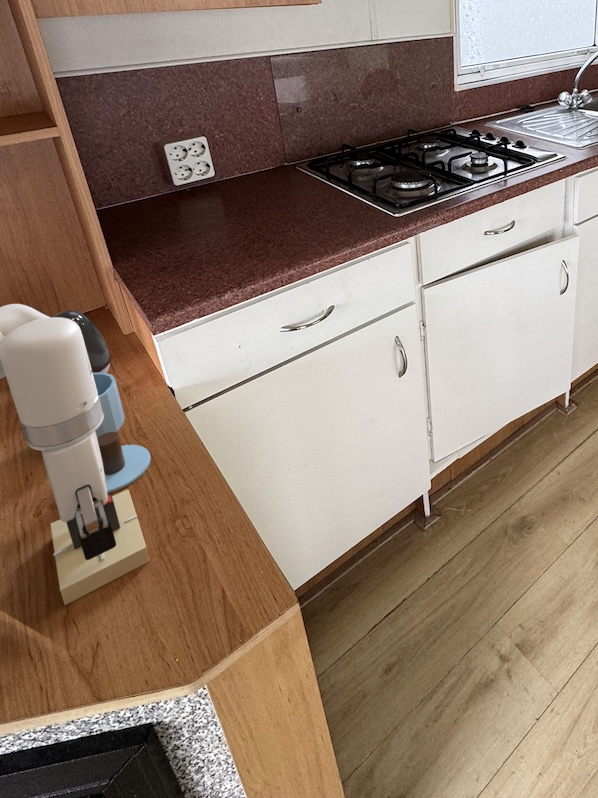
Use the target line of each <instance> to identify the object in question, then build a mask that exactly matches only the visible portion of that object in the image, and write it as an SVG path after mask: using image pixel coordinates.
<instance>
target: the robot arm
mask: <svg viewBox="0 0 598 798" xmlns="http://www.w3.org/2000/svg"><path fill="white" fill-rule="evenodd" d="M4 378H5V379H6V381H7V384H8V388H9V391H10V393H11V396H12V400H13V403H14V406H15V409H16V412H17V415H18V418H19V421H20V425H21V427H22V430H23V433H24V437H25V439H26V443H27V445H28V447H29V448H30V449H32V450H34V451H35V450H36V451H40V452H41V454H42V459H43V463H44V464H43V465H44V467H45V471H46V475H47V478H48V481H49V485H50V487H51V490H52V495H53V499H54V501H55V504H56V508H57V512H58V516H59V520H60V519H61V521H63V522H68V521H69V520H71V519H73V518H74V516H76V520H77V524H78V528H79V532H80V533H79V534H78V536H79V540H80V543H81V546H82V550H83V553H84V556H85V559H86V560H90V559H92V558H94V557H96V556H98V555H100V554H102V553H104V552H106V551H108V550H110V549H112V548H114V547H115V546H116V541H115V537H114V534H113V530H112V527H111V523H110V520H107V519H106V515H105V511H104V508H103V505H105V503H106V502H107V500H108V494H107V488H106V481H105V474H104V468H103V462H102V458H101V453H100V448H99V444H98V440H97V436H96V432H95V430H96V429H97V428H98V427H99V426H100V425H101V423H102V421H103V418H104V415H103V411H102V407H101V404H100V400H99V396H98V392H97V388H96V384H95V381H94V377H93V373H92V369H91V365H90V362H89V358H88V354H87V350H86V347H85V343H84V339H83V336H82V332H81V329H80V327H79V326H78V325H77V324H76V323H75V322H74V321H72V320H70V319H67V318H61V317H54V316H52V317H51V316H48V315H46V314H44V313H43V312H40V311H39V310H36V309H35V308H33V307H31V306H28V305H27V304H22V303H10V304H5V305H2V306H0V380H1V379H4ZM97 501H98V502H97ZM94 502H96V503H94ZM93 503H94V504H93ZM96 508H98V510H99V514H100V517H101V519H100V518H98V519H97V515H96V512H95V509H96ZM79 509H81V510H79ZM81 515H82V516H83V520H84V523H83V520H82V516H81ZM84 524H85V525H84Z"/></svg>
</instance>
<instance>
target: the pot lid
mask: <svg viewBox="0 0 598 798" xmlns="http://www.w3.org/2000/svg"><path fill="white" fill-rule="evenodd" d="M97 440H98V444H99V448H100V453H101V458H102V462H103V468H104V474H105V481H106V488H107V495H109V494H112V493H114V492H117V491H120V490H121V489H124V488H126V487H128V486H129V485H131V484H133V483H134V482H135V481H137V480H138V479H139V478H141V476H142V475H143V474H144V473H146V471H147V469H148V468H149V466H150V463H151V453H150V451H149V449H147V448H146V447H144V446H143V445H142V446H141V445H138V444H126V445H125V444H124V445H122V444H121V440H120V436H119V433H118V432H108V433H105V434H102V435H101V436H99V437H98V438H97Z"/></svg>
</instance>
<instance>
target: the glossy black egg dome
mask: <svg viewBox="0 0 598 798" xmlns="http://www.w3.org/2000/svg"><path fill="white" fill-rule="evenodd" d="M53 317H61V318H67V319H70V320H72V321H74V322H75V323H76V324H77V325H78V326H79V327H80V329H81V332H82V336H83V339H84V343H85V347H86V350H87V354H88V358H89V362H90V365H91V369H92V373H108V372H109V370H110V367H111V366H110V365H111V362H112V354H111V350H110V348H109V346H108V343H107V342H106V340H105V338H104V336H103V334H102V333H101V331H100V330H99V329H98V327H97V326H96V325H95V323H94V322H93V321H92V320H91V319H90V318H89V317H88V316H87V315H85V314H84V313H82V312H81V311H79V310H75V309H66V310H63V311H62V310H61V311H60V312H58V313H56V314H54V316H53Z"/></svg>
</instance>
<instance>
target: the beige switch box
mask: <svg viewBox="0 0 598 798" xmlns="http://www.w3.org/2000/svg"><path fill="white" fill-rule="evenodd" d="M130 493H131V492H130V489H125V490H124V491H121V492H118V493H115V494H114V495H112V498H113V502H114V505H115V509H116V513H117V516H118V520H119V524H120V528H119V529H117V530H115V531H113V534H114V537H115V541H116V546H115V547H114V548H112V549H110V550H108V551H106V552H104V553H102V554H100V555H98V556H96V557H94V558H92V559H90V560H86V559H85V556H84V553H83V550H82V546H81V547H79V548H77V549H74V546H73V542H72V539H71V536H70V533H69V529H68V526H67V523H66V522H63V521H61V519H60V518H59V519H58V520H55V521H52V522H51V523H50V530H51V531H50V532H51V539H52V544H53V551H54V553H53V557H54V560H55V566H56V573H57V579H58V586H59V592H60V595H61V597H62V600H63V605H64V606H66V605H68V604H70V603H72V602H74V601H76V600H78V599H80V598H81V597H83V596H85V595H88V594H89V593H91V592H93V591H95V590H97V589H99V588H101V587H103V586H105V585H107V584H109V583H111V582H113V581H114V580H117V579H118V578H120V577H123V576H124V575H126V574H128V573H130V572H132V571H134V570H135V569H137V568H139V567H141V566H143V565H145V564H147V563H149V562H150V561H151V559H150V556H149V552H148V548H147V545H146V541H145V538H144V535H143V532H142V529H141V525H140V522H139V519H138V517H139V516H138V514H137V512H136V509H135V506H134V503H133V500H132V496H131V494H130Z"/></svg>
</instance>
